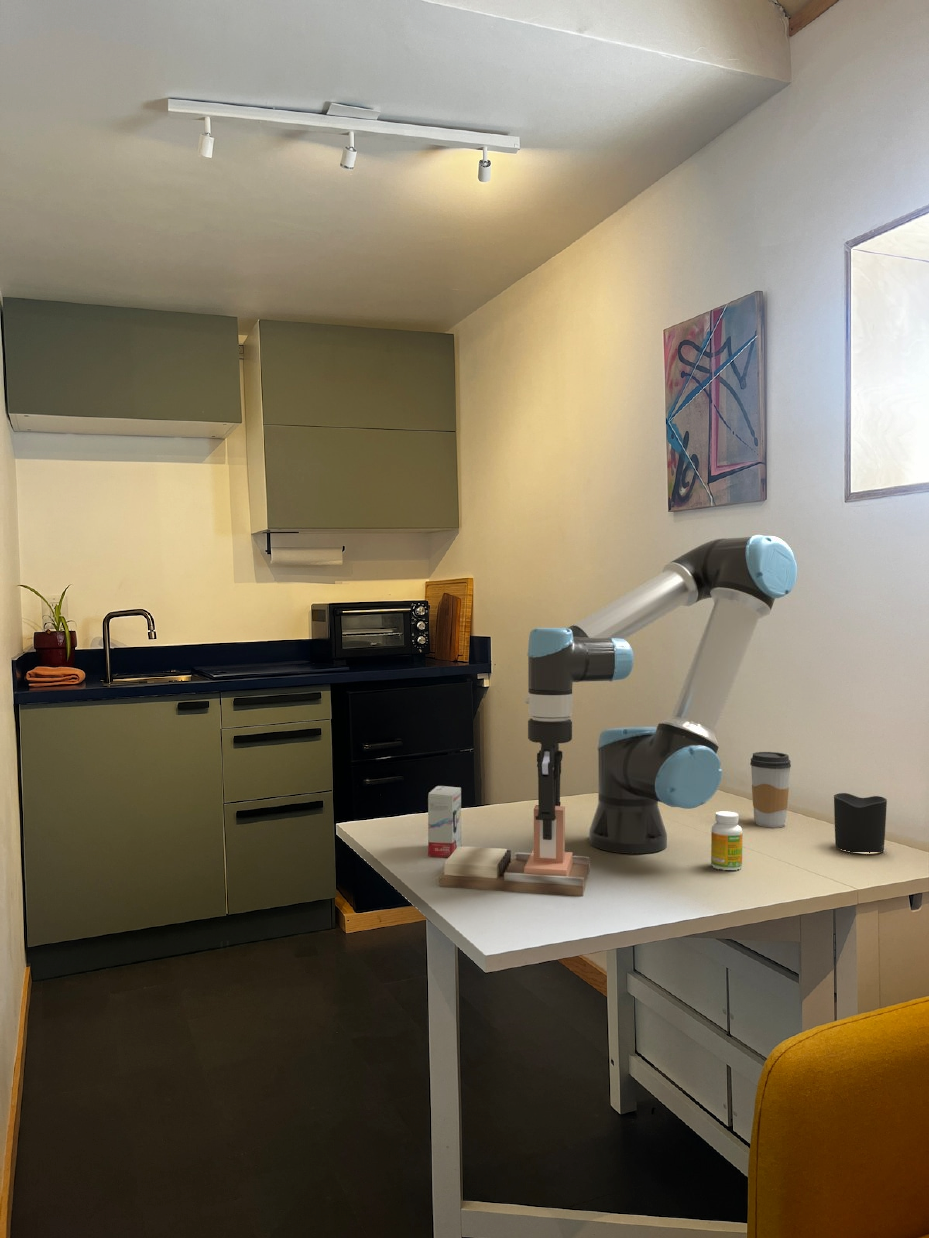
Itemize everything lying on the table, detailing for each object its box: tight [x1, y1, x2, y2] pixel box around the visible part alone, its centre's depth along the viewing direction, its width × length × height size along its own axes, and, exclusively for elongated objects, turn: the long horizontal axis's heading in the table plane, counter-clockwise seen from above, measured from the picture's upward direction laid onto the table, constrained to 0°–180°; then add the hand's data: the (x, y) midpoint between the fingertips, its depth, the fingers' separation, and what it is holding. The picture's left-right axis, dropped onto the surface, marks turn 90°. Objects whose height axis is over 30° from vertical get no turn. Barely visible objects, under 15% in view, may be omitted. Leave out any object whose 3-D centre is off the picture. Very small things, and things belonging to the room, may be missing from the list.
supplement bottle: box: [710, 810, 743, 871], centre depth 168 cm, size 5×5×10 cm
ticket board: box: [438, 845, 590, 897], centre depth 161 cm, size 24×14×4 cm, turn 78°
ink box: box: [427, 785, 462, 858], centre depth 178 cm, size 9×5×12 cm, turn 168°
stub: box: [524, 804, 574, 876], centre depth 160 cm, size 7×11×11 cm, turn 168°
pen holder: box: [833, 792, 888, 853], centre depth 180 cm, size 9×9×10 cm
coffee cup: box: [749, 751, 792, 829], centre depth 199 cm, size 8×8×15 cm
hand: (549, 854), depth 160 cm, fingers closed on stub, 3 cm apart
